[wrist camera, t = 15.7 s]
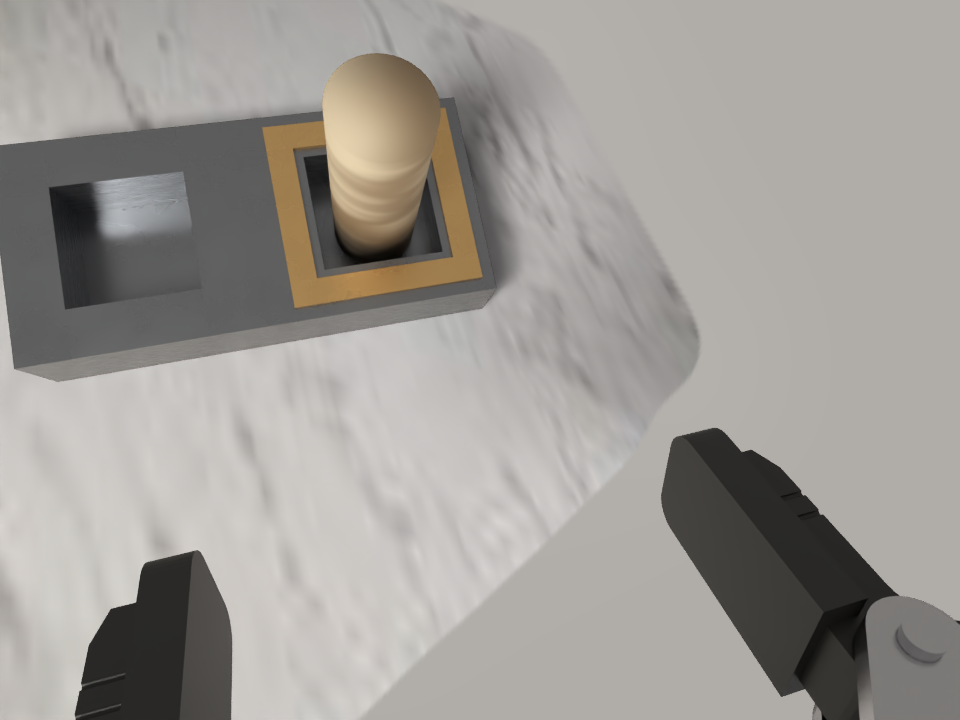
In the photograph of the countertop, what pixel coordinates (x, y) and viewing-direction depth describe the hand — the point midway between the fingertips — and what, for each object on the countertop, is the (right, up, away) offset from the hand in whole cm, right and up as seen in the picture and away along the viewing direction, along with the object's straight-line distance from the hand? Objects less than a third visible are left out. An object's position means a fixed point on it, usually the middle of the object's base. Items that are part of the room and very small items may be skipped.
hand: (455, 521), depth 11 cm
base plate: (-11, +8, +23) cm, 27 cm away
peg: (-5, +10, +23) cm, 25 cm away
